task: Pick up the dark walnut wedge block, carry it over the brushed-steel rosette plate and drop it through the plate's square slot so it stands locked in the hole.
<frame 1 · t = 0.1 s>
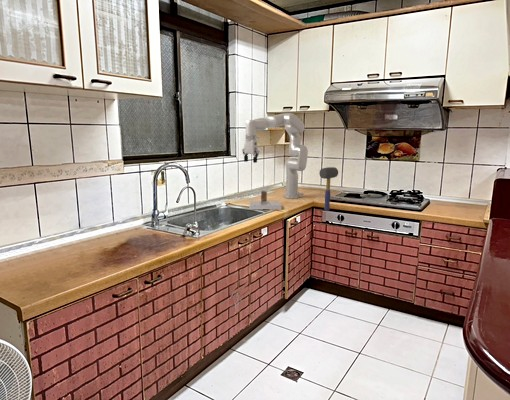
hand: (250, 162, 258), 31 cm above the worktop, tool pointing down, fingers open, 9 cm apart
rosette plate: (264, 207, 255), on the worktop
rubber mallet: (326, 211, 247), on the worktop
walnut wedge: (263, 203, 269), on the worktop
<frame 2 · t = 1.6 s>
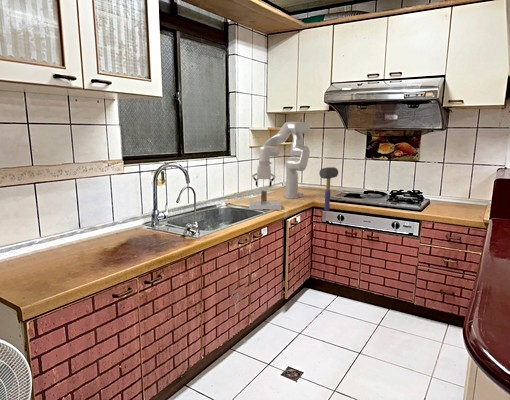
hand: (263, 186, 266), 12 cm above the worktop, tool pointing down, fingers open, 9 cm apart
nothing on the worktop moved.
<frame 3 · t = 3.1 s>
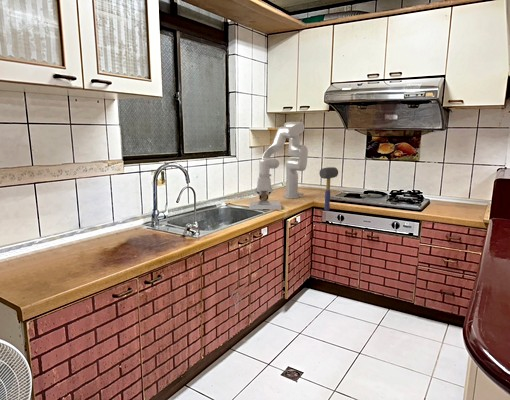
hand: (263, 200, 269), 2 cm above the worktop, tool pointing down, fingers closed on walnut wedge, 4 cm apart
walnut wedge: (263, 203, 269), on the worktop, touching gripper
everything else where it was.
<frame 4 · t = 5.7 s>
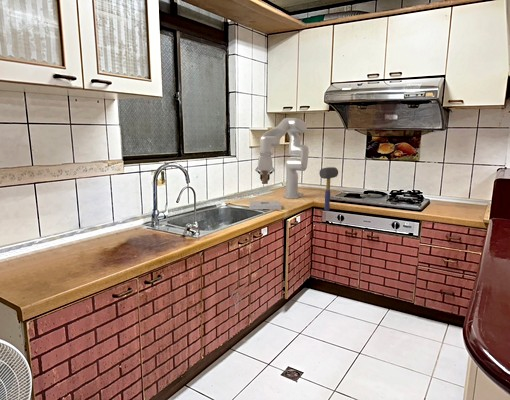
hand: (264, 180, 254), 19 cm above the worktop, tool pointing down, fingers closed on walnut wedge, 4 cm apart
walnut wedge: (264, 183, 255), point 17 cm above the worktop, touching gripper
everything else where it was.
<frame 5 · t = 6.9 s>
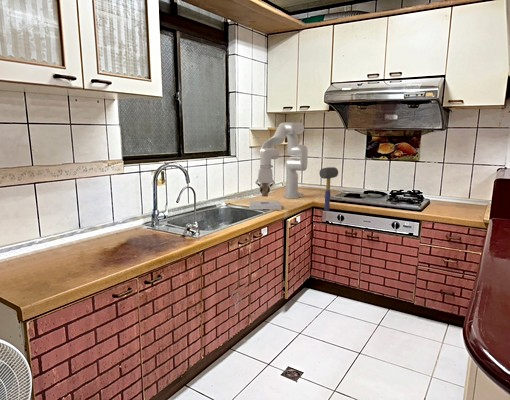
hand: (264, 192, 253), 10 cm above the worktop, tool pointing down, fingers closed on walnut wedge, 4 cm apart
walnut wedge: (264, 196, 253), point 8 cm above the worktop, touching gripper
everything else where it was.
when the fingers open (4 cm above the worktop, at t = 8.2 s): walnut wedge drops 2 cm, resting in rosette plate.
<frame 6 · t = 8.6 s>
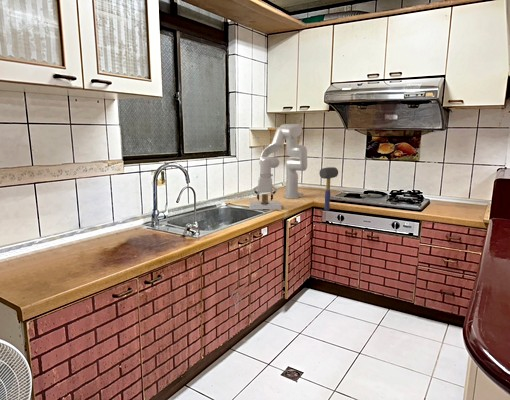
hand: (264, 200, 254), 5 cm above the worktop, tool pointing down, fingers open, 8 cm apart
walnut wedge: (264, 207, 255), resting in rosette plate
everything else where it was.
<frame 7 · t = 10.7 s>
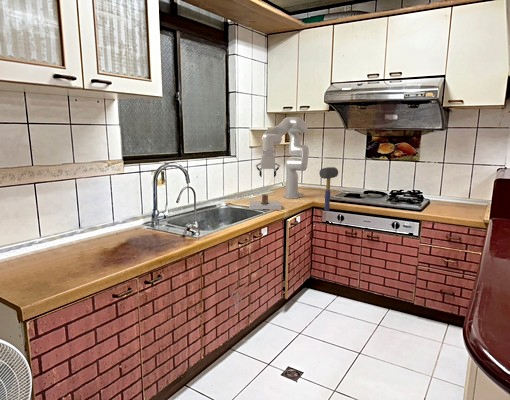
hand: (267, 176, 254), 21 cm above the worktop, tool pointing down, fingers open, 9 cm apart
nothing on the worktop moved.
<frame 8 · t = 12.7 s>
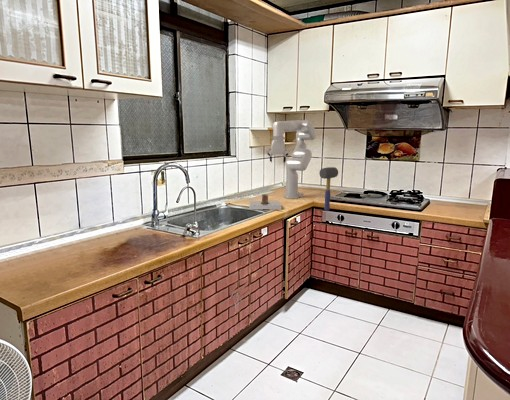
hand: (277, 162, 267), 30 cm above the worktop, tool pointing down, fingers open, 9 cm apart
nothing on the worktop moved.
at the end: walnut wedge 0.1 cm off-centre on the rosette plate, point 0.0 cm above the rosette plate's base; walnut wedge tilted 0°; the gripper is holding nothing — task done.
